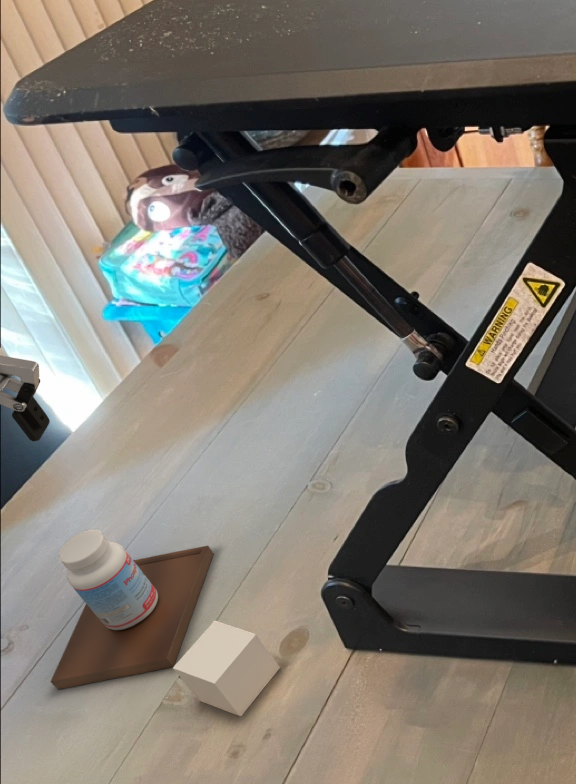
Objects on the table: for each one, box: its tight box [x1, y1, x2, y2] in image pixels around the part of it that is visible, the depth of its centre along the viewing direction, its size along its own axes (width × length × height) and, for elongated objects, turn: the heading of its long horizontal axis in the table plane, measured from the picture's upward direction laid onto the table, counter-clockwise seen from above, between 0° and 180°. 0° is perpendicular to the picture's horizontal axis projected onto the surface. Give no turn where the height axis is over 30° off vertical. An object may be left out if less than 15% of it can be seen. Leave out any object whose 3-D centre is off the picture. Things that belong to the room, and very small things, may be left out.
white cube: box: [172, 620, 281, 717], centre depth 110 cm, size 6×6×6 cm
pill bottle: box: [58, 529, 158, 630], centre depth 118 cm, size 6×6×11 cm
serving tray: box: [50, 545, 214, 690], centre depth 121 cm, size 13×16×2 cm
